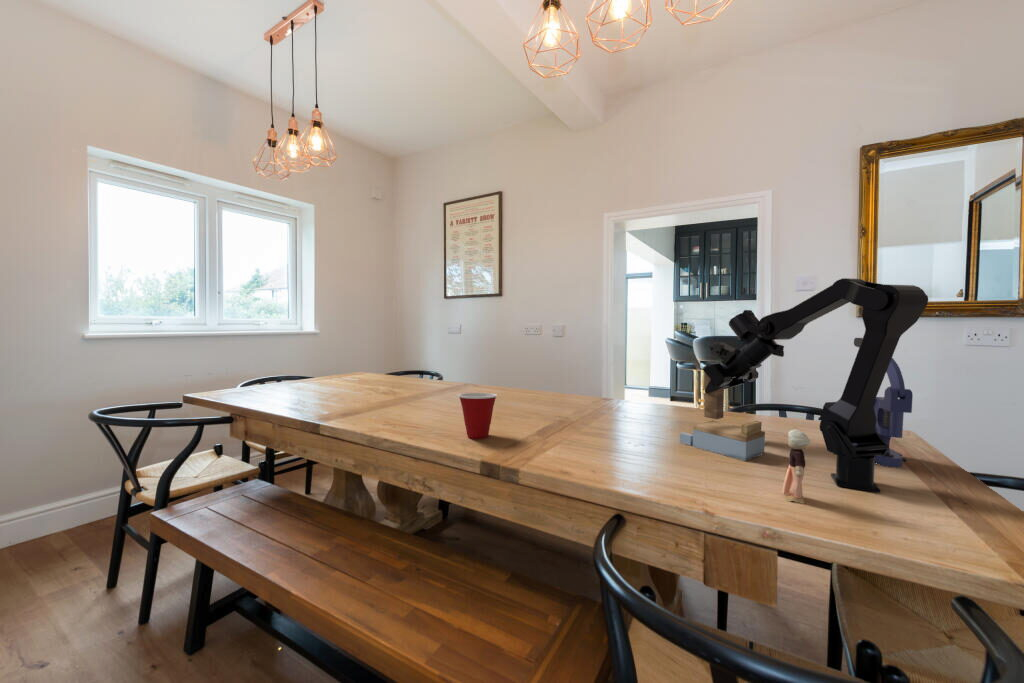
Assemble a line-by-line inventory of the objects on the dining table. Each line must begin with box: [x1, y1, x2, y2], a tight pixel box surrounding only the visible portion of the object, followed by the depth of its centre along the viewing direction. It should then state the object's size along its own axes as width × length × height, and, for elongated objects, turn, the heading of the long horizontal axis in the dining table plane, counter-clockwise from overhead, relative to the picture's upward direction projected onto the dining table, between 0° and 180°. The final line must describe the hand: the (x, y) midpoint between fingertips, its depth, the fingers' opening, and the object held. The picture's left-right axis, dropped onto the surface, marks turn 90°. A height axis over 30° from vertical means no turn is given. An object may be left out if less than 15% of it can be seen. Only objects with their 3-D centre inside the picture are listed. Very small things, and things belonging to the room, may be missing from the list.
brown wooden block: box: [703, 372, 725, 420], centre depth 112 cm, size 4×4×14 cm
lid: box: [692, 420, 766, 442], centre depth 100 cm, size 13×9×4 cm
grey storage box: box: [679, 428, 766, 462], centre depth 102 cm, size 17×9×4 cm, turn 34°
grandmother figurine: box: [781, 428, 811, 504], centre depth 72 cm, size 8×4×13 cm, turn 159°
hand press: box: [852, 337, 914, 469], centre depth 95 cm, size 19×9×28 cm, turn 164°
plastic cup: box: [457, 392, 498, 440], centre depth 111 cm, size 11×11×12 cm
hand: (709, 391), depth 113 cm, fingers closed on brown wooden block, 3 cm apart
